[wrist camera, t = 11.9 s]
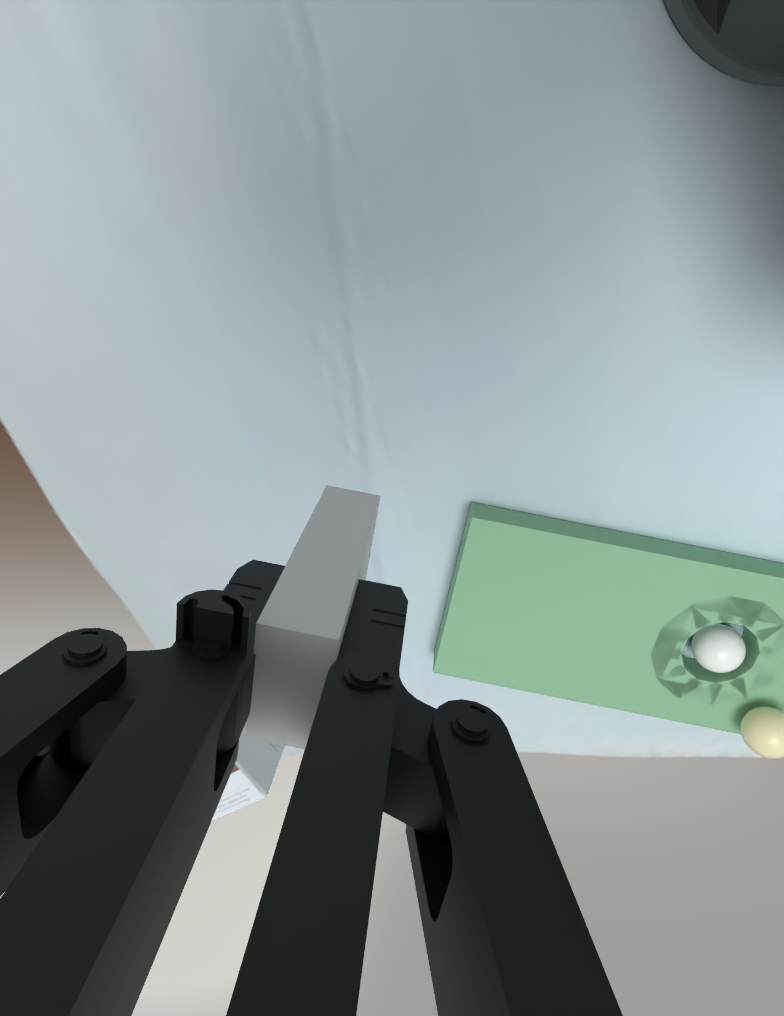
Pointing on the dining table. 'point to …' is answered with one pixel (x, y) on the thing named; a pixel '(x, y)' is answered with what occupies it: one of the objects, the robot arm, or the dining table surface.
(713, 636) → the ball
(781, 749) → the yellow ball
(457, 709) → the robot arm
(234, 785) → the skincare box
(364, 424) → the dining table surface
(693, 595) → the green
